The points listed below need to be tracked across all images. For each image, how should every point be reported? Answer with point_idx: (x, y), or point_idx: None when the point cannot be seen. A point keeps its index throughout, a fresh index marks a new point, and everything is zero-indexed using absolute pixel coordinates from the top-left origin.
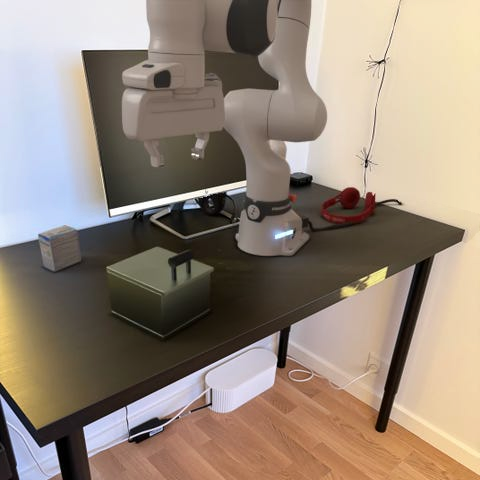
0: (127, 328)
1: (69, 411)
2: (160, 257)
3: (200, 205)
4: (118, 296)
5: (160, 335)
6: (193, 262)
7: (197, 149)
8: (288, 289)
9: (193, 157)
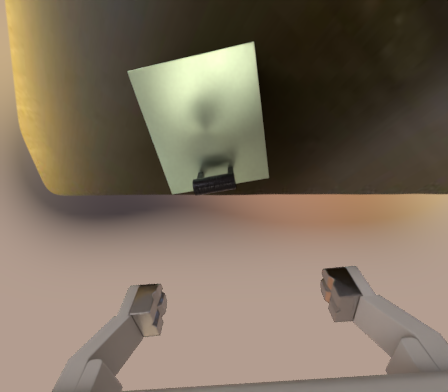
0: None
1: (74, 193)
2: (227, 96)
3: None
4: None
5: None
6: (258, 147)
7: (340, 316)
8: (374, 161)
9: (324, 275)
